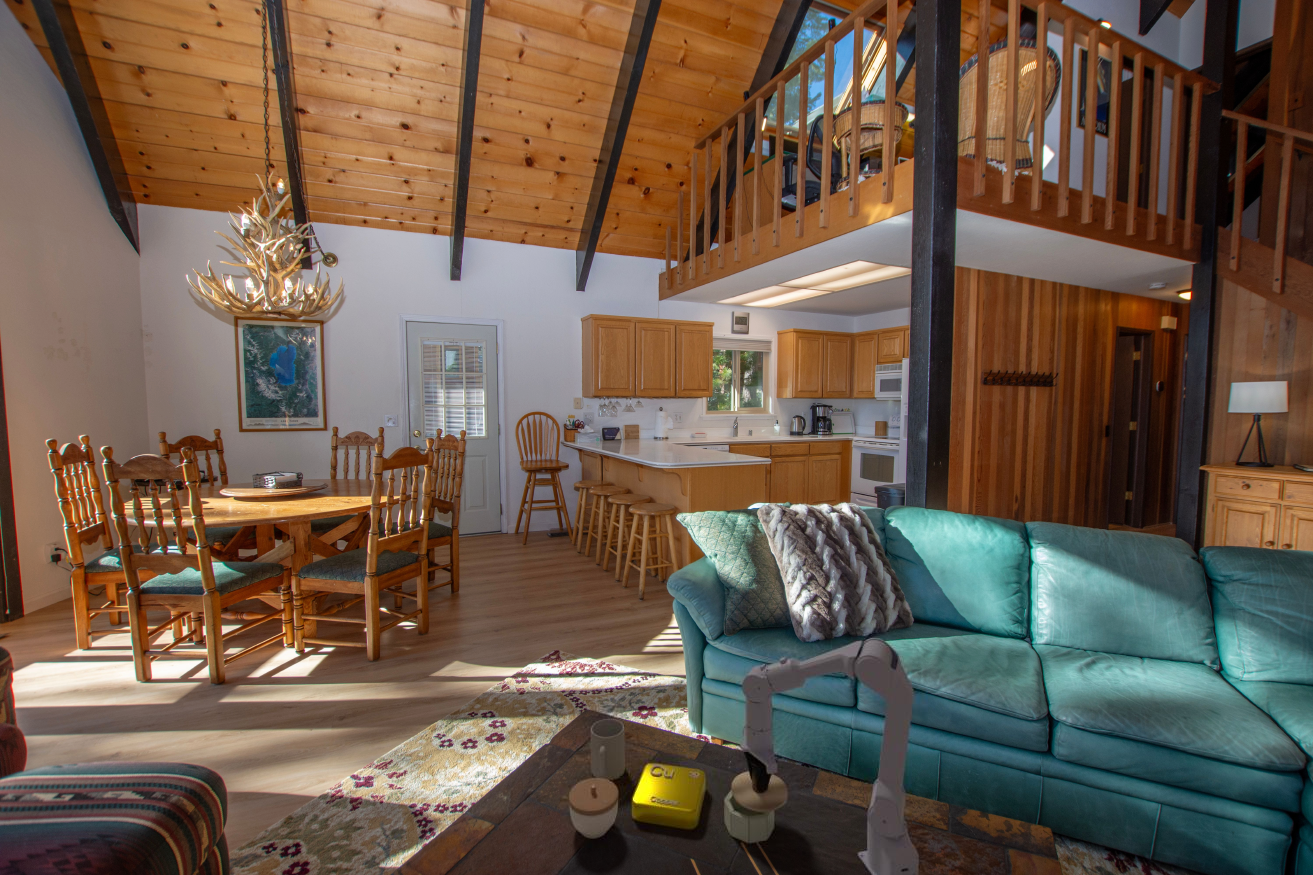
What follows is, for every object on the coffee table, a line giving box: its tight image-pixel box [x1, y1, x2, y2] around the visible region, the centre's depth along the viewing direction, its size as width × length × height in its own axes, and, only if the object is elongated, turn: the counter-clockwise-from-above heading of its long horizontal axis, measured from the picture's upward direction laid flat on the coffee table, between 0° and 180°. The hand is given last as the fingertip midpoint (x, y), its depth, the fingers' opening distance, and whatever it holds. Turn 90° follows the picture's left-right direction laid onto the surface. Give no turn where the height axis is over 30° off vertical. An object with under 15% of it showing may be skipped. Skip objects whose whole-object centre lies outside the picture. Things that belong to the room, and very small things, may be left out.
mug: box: [590, 718, 626, 781], centre depth 140 cm, size 12×8×11 cm
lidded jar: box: [568, 777, 619, 839], centre depth 122 cm, size 11×11×9 cm
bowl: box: [723, 789, 775, 844], centre depth 123 cm, size 10×10×5 cm
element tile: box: [631, 762, 707, 830], centre depth 130 cm, size 15×15×5 cm
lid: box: [731, 770, 789, 812], centre depth 122 cm, size 12×12×4 cm
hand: (758, 784), depth 122 cm, fingers closed on lid, 3 cm apart
